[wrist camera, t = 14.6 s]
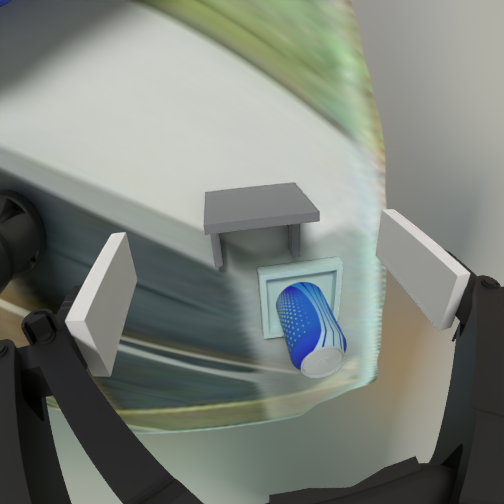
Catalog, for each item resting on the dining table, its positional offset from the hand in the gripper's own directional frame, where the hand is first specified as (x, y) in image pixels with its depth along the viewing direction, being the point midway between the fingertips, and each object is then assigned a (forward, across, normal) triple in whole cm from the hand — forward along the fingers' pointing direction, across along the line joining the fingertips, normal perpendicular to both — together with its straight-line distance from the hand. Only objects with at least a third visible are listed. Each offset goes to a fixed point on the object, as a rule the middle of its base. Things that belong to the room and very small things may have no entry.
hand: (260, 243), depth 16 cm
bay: (+31, +3, -12) cm, 33 cm away
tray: (+31, +11, -27) cm, 42 cm away
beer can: (+30, +10, -27) cm, 42 cm away
